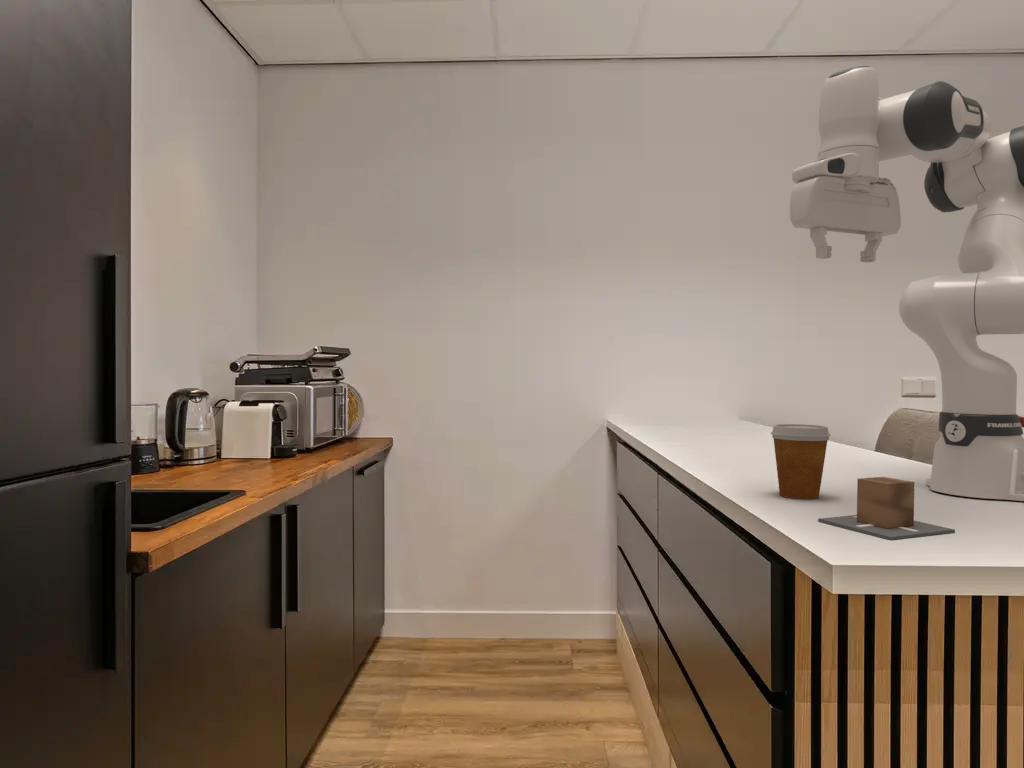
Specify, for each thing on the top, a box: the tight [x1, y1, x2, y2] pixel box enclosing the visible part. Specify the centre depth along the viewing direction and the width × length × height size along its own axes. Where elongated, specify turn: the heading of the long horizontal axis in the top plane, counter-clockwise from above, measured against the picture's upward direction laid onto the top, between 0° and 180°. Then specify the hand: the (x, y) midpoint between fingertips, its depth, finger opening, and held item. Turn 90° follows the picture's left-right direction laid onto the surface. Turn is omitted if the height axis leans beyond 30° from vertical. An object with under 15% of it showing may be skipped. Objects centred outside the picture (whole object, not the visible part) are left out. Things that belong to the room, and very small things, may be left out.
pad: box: [817, 514, 956, 541], centre depth 101 cm, size 12×12×1 cm
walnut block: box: [856, 476, 916, 529], centre depth 101 cm, size 5×5×6 cm
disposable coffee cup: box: [770, 423, 831, 500], centre depth 125 cm, size 10×10×12 cm
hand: (846, 260), depth 116 cm, fingers open, 8 cm apart
